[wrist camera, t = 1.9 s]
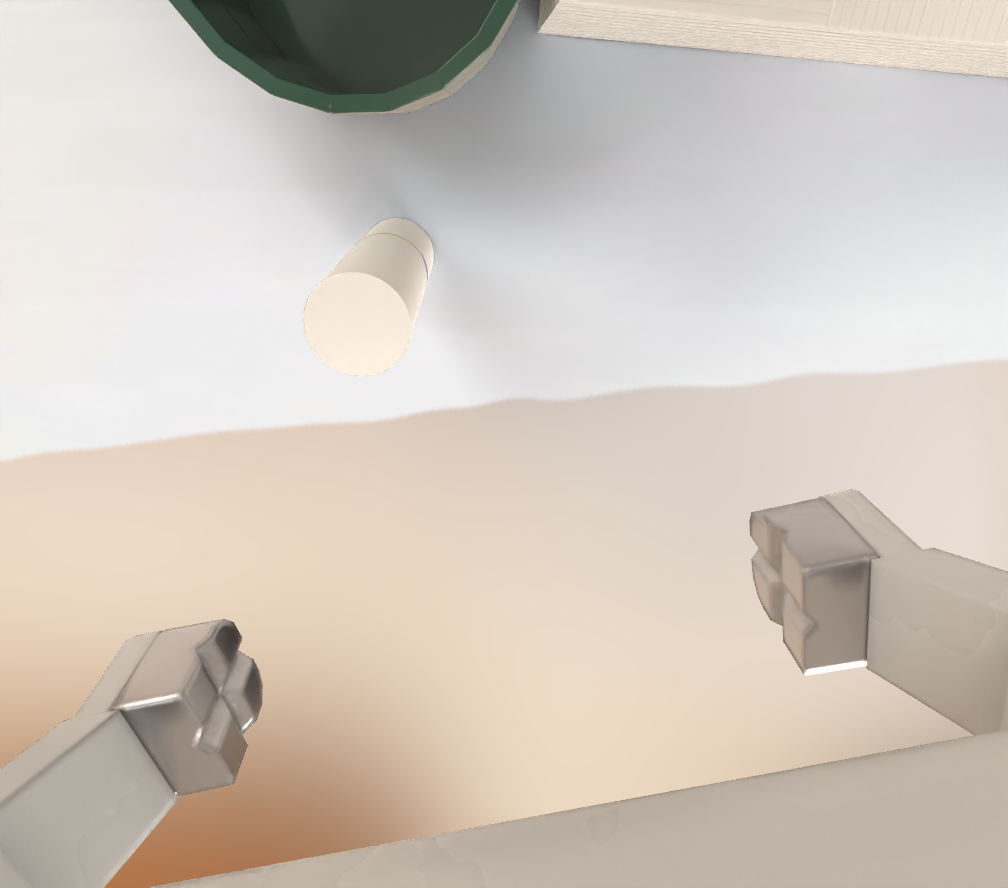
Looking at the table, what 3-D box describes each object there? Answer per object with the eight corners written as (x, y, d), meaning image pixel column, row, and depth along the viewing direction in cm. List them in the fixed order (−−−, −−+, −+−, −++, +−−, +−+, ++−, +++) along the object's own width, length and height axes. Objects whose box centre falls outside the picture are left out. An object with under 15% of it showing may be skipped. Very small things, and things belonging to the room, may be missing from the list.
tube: (347, 248, 40) (280, 317, 26) (401, 202, 38) (359, 248, 25) (395, 304, 41) (355, 396, 28) (448, 260, 40) (433, 334, 27)
